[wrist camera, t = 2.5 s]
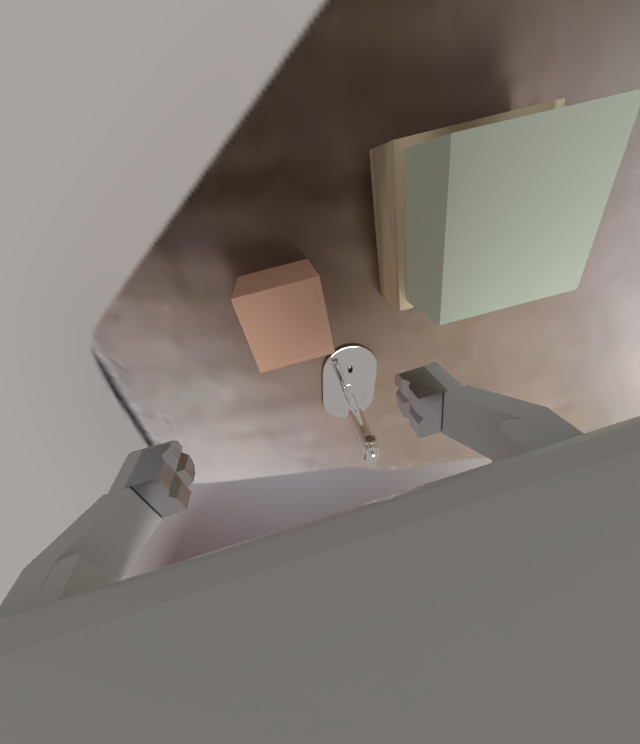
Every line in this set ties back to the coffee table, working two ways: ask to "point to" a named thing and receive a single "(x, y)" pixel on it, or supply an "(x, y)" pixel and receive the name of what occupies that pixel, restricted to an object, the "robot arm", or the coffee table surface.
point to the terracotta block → (283, 315)
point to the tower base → (392, 198)
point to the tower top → (510, 206)
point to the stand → (352, 392)
